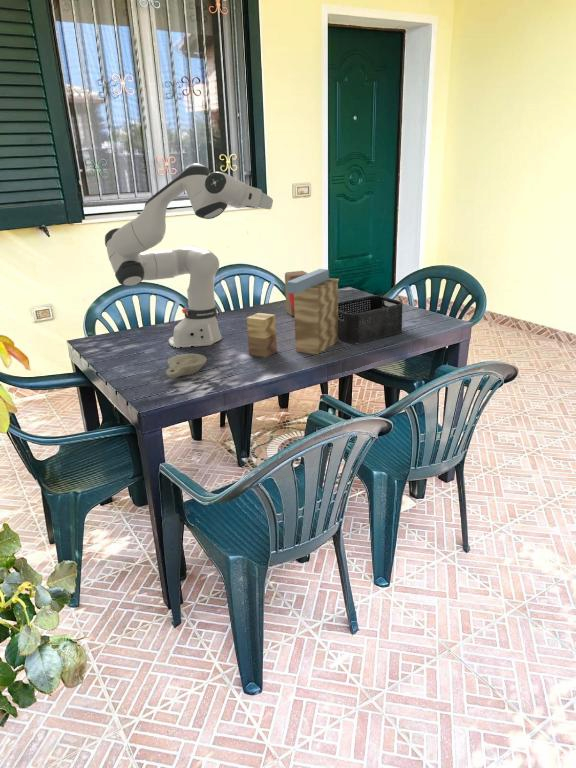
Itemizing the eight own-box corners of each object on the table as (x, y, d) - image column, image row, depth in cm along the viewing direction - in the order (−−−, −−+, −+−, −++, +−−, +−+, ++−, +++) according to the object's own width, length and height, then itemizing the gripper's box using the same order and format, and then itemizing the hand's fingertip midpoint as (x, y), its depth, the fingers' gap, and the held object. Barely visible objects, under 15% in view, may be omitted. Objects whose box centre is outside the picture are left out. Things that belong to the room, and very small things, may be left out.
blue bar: (296, 293, 208) (296, 282, 206) (287, 292, 210) (286, 281, 208) (328, 279, 228) (328, 269, 227) (319, 278, 230) (319, 268, 229)
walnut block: (266, 357, 223) (265, 338, 220) (249, 354, 227) (247, 336, 224) (276, 351, 230) (276, 333, 227) (260, 348, 234) (259, 330, 231)
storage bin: (351, 346, 233) (351, 313, 228) (324, 334, 248) (324, 304, 243) (405, 333, 246) (406, 302, 241) (376, 323, 261) (377, 294, 256)
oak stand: (318, 354, 223) (317, 288, 214) (294, 351, 229) (292, 286, 219) (339, 341, 238) (338, 279, 228) (316, 338, 243) (315, 277, 234)
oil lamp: (190, 387, 198) (188, 373, 196) (152, 384, 201) (151, 371, 200) (213, 366, 216) (212, 353, 214) (179, 364, 220) (177, 351, 218)
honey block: (265, 338, 220) (264, 319, 218) (247, 336, 224) (246, 317, 222) (275, 333, 227) (275, 314, 224) (259, 330, 231) (257, 312, 228)
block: (285, 312, 285) (284, 272, 277) (304, 310, 287) (303, 270, 280) (291, 317, 276) (290, 275, 268) (311, 314, 278) (310, 273, 271)
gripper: (209, 198, 204) (228, 206, 217) (260, 208, 197) (276, 216, 210) (213, 180, 203) (232, 190, 216) (264, 189, 196) (280, 199, 209)
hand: (254, 203), depth 213 cm, fingers open, 8 cm apart
